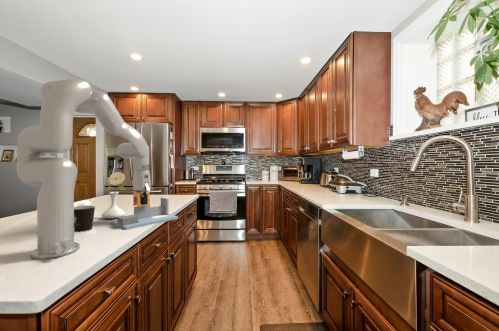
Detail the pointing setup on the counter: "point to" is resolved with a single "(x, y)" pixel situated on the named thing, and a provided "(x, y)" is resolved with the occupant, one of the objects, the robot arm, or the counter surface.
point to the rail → (145, 216)
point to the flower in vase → (114, 209)
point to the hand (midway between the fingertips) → (141, 203)
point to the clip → (139, 199)
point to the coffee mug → (83, 218)
